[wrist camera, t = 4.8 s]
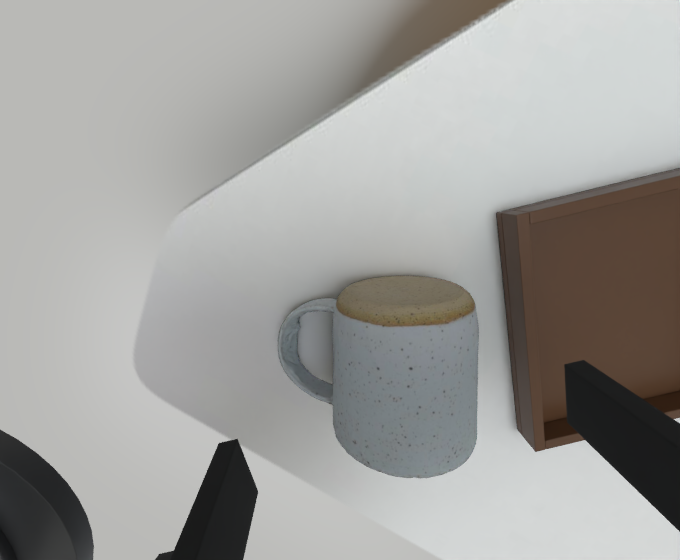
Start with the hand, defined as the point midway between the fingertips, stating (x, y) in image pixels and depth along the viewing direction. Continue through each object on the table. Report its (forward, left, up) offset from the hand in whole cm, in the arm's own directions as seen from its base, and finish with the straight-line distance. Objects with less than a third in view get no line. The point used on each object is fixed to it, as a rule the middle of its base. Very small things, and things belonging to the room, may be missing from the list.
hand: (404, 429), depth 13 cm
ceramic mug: (0, 0, -9) cm, 9 cm away
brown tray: (+16, -2, -8) cm, 18 cm away
